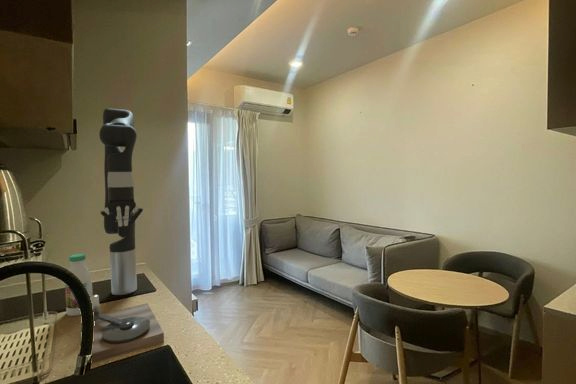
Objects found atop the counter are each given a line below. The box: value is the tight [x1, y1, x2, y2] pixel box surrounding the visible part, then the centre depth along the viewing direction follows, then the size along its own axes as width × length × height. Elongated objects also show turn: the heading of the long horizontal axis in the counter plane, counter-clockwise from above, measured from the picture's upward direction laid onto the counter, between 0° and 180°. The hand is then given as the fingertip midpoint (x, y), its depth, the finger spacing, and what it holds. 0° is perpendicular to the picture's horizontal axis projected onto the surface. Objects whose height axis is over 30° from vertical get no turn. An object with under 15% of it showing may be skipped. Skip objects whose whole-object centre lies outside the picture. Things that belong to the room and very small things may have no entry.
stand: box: [92, 303, 165, 364], centre depth 89 cm, size 24×18×4 cm
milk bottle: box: [64, 253, 94, 317], centre depth 104 cm, size 8×8×20 cm
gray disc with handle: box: [90, 294, 150, 343], centre depth 87 cm, size 22×12×8 cm, turn 63°
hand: (123, 236), depth 100 cm, fingers closed
